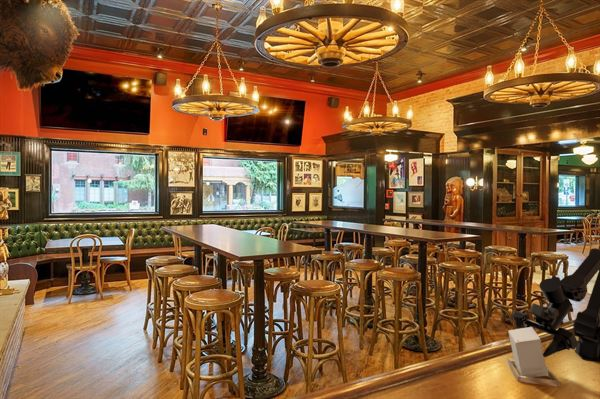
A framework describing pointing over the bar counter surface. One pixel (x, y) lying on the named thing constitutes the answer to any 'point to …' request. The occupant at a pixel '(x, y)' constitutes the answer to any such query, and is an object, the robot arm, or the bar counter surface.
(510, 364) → the tray rim
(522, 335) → the supplement box
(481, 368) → the bar counter surface
